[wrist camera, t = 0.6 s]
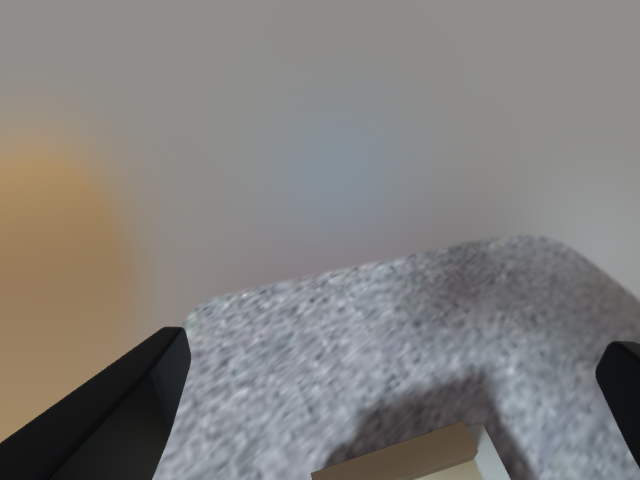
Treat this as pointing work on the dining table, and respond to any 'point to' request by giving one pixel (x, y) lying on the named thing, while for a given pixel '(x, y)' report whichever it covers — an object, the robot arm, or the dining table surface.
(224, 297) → the dining table surface
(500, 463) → the open tray
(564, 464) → the dining table surface
